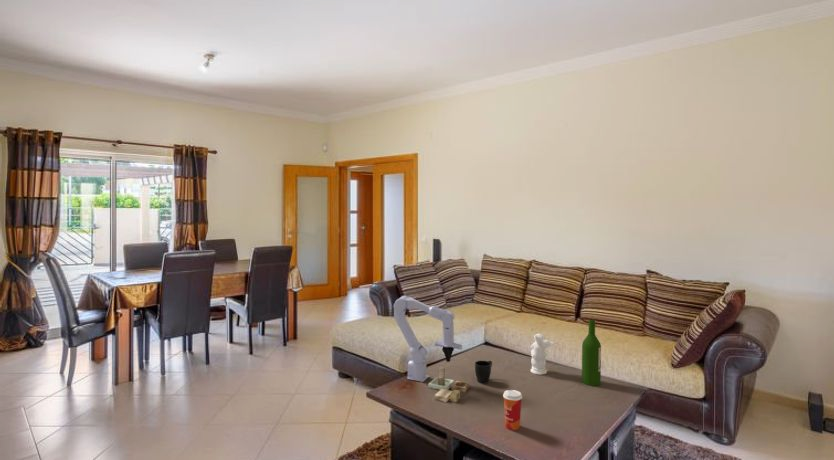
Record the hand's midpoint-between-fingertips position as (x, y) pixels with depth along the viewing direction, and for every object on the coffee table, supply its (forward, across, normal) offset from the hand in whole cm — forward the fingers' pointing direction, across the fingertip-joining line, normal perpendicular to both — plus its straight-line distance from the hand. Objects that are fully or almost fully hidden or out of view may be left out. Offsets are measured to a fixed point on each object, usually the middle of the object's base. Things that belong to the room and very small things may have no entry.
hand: (448, 361), depth 221 cm
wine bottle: (+11, +67, +29) cm, 74 cm away
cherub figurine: (+11, +42, +32) cm, 54 cm away
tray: (+10, -1, -7) cm, 13 cm away
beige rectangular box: (+11, +5, -19) cm, 23 cm away
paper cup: (+11, +41, -33) cm, 54 cm away
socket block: (+10, +9, -6) cm, 15 cm away
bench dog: (+10, +11, -19) cm, 24 cm away
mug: (+11, +17, +9) cm, 22 cm away
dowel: (+10, -1, -7) cm, 12 cm away
